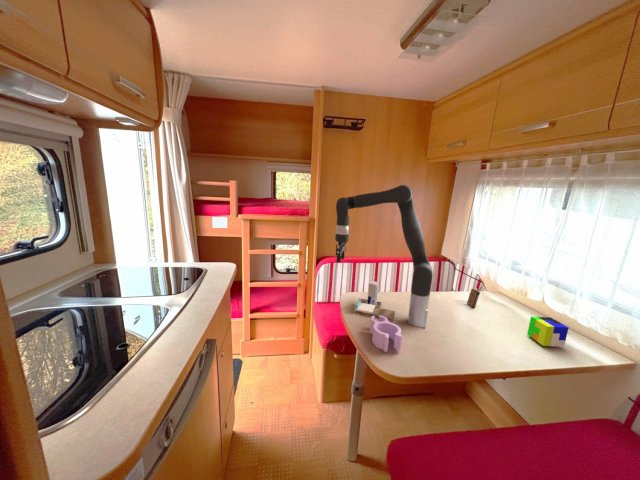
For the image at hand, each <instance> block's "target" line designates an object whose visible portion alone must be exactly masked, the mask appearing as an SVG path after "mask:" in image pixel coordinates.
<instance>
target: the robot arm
mask: <svg viewBox="0 0 640 480" xmlns="http://www.w3.org/2000/svg"><path fill="white" fill-rule="evenodd" d="M390 203H391V204H393V203H396V204H397V206H398V208H399V212H400V217H401V218H400V220H401V222H400V223H401V228H402V234H403V236H404V240H405V241H404V242H405V243H406V246H407V248H408V250H409V253H410V255H411V260H412V264H413V272H412V280H411V289H410V291H411V292H410V298H409V306H408V307H409V308H408V315H407V323H408V324H409V325H411V326H412V327H417V328H426V326H427V321H428V320H427V319H428V314H429V313H428V312H429V310H428V309H429V302H430V296H431V295H430V294H431V290H432V289H431V288H432V285H433V284H432V283H433V268H432V266H431V263H430V261H429V259H428V255H427V252H426V245H425V238H424V234H423V230H422V226H421V225H422V224H421V223H420V220H419V218H418V215H417V213H416V209H415V206H414V205H415V204H414V197H413V191H412V188H411V187H410V186H409V185H405V184H401V185H398V186H395V187H393V188H390V189H387V190H382V191H376V192H369V193H367V192H366V193H363V194H356V195H354V196H353V195H352V196H348V197H347V196H345V197H340V198H338V199H337V200H336V203H335V208H336V212H335V213H336V227H335V235H334V240H335V242H337V244H335V256H336V263H341V262H342V260H344V259H345V253H346V251H347V243H348V242H349V237H350V236H349V235H350V215H349V210H352V209H359V208H367V207H371V206H372V207H373V206H377V205H382V204H390Z"/></svg>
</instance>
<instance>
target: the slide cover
mask: <svg viewBox="0 0 640 480" xmlns="http://www.w3.org/2000/svg"><path fill="white" fill-rule="evenodd" d="M361 299H362V298H360V297H359V298H358V299H357V301H356V302H355V304H354V311H355V310H356V311H361V312H365V313H370V314H372V313H373V311H374V308H375V305H371V304H367V302H366V303H361Z"/></svg>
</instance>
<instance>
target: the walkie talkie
mask: <svg viewBox="0 0 640 480" xmlns="http://www.w3.org/2000/svg"><path fill="white" fill-rule="evenodd" d="M485 284H486V283H485V282H483V284H482V285H481V287H479V289H478V288H471V290H470V292H469V296H468V299H467V301H466V304H467V306H469V307H470V308H471V309H475V308H476V306H477V307H479V305H478V304H477V302H478V301H479V300H478V299H479V298H480V297H479V296H480V293H481V292H480V291H481V290H482V288H483V287H484V285H485ZM457 301H460V302H463V300H461V299H459V300H458V299H457Z"/></svg>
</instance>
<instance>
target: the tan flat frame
mask: <svg viewBox="0 0 640 480" xmlns="http://www.w3.org/2000/svg"><path fill="white" fill-rule="evenodd" d="M367 301H368V298H361V303H366V304H367V303H368V302H367ZM381 306H382V301H378V300H377V306H376V307H375V308H374V311H373V313H372V314H370V313H365V312H361V311H356V310H355V309H354V312H353V313H354V314H358V315H363V316H368V317H371V316H375V319H376V318H377V319H379V315H381V316H384V317H386V318H387V319H388V321H389V322H394V319H395V315H396V310H392V309H387V308H383V307H382V308H381Z"/></svg>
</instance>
